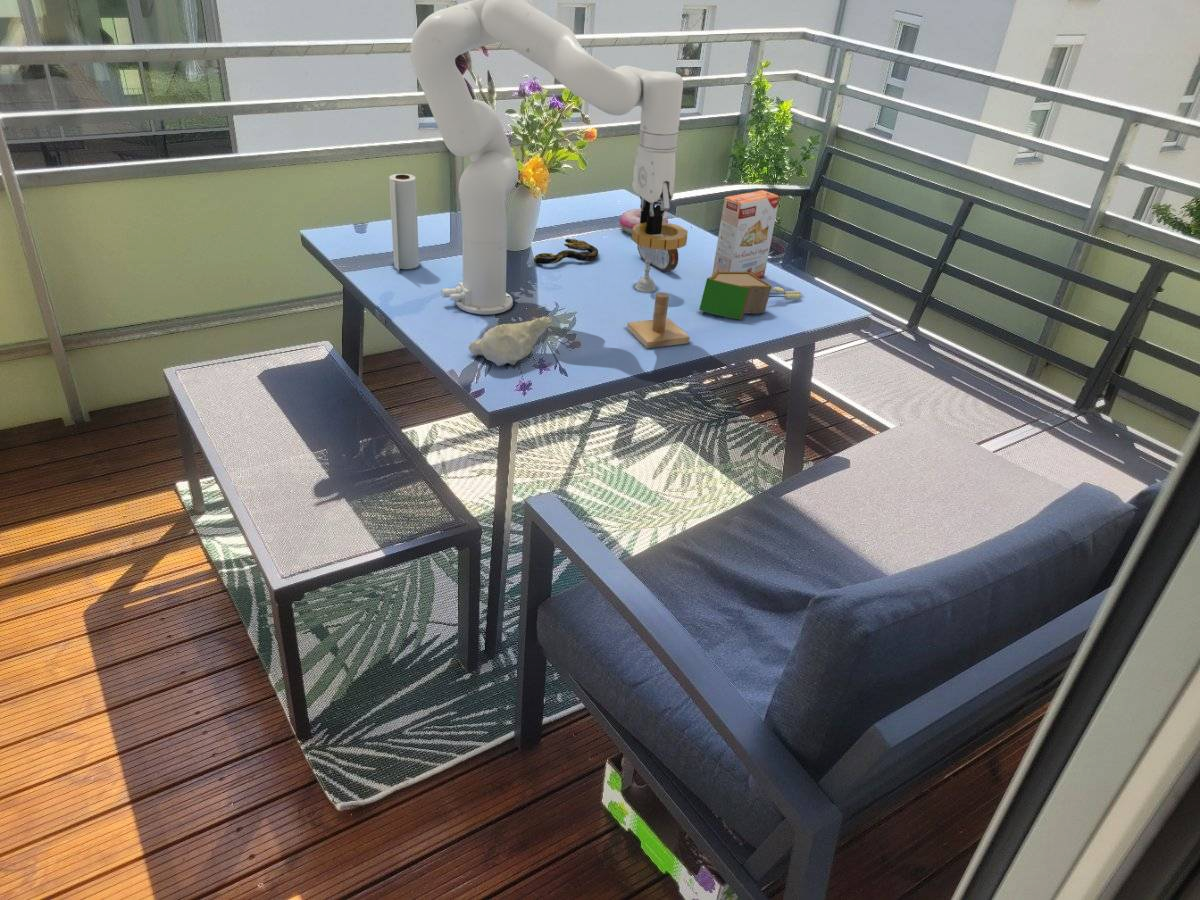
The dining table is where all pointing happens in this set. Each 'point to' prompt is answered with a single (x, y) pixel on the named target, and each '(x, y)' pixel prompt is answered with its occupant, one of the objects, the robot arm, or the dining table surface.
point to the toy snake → (569, 253)
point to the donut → (631, 220)
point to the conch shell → (510, 341)
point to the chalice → (648, 266)
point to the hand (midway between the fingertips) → (650, 231)
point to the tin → (661, 258)
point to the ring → (673, 241)
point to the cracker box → (746, 233)
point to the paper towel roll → (404, 221)
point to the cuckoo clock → (738, 294)
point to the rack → (658, 327)
